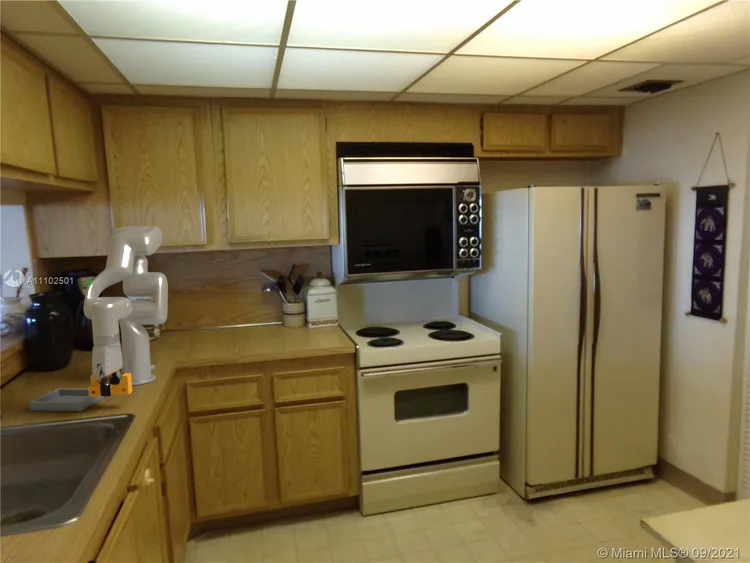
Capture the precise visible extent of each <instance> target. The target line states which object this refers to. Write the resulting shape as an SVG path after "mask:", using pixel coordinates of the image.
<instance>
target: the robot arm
mask: <svg viewBox="0 0 750 563" xmlns="http://www.w3.org/2000/svg"><path fill="white" fill-rule="evenodd" d="M112 234H113V235H112V237H111V238H110V242H109V247H108V252H107V259H106V266H105V269H103V270H102V271H101V272H100V273H99V274H98V275H96V277H94V278H93V280H92V281H91V282H90V283H89V284H88V287H87V289H86V292H85V296H84V303H83V313H84V316H85V318H87V319H89V320H91V326H92V338H93V339H92V342H93V347H92V356H91V357H92V359H91V369H92V375H93V376H95V377H94V380H95V381H97V382H98V383H99V385H100V392H101V396H109V397H111V396H112V395H111V386H110V384H111V385H117V384H119V383H120V381H121V376H122V375H121V372H122V369H123V374H125V373H131V380H132V386H137V385H138V386H139V385H145V384H148V383H151V382H153V381H155V380H156V378H157V377H156V375H155V374H153V373H152V371H153V370H154V369H155V367H156V366H155V365H154V364H151V352H150V351H151V350H150V336H149V333H148V330H147V329H146V328H145V327H144V326H147V325H150V326H151V325H162V324H164V323H165V322H166V321H167V320H168V309H169V308H168V306H169V305H168V301H169V293H168V292H169V287H168V279H167V276H166V275H165V274H164V273H163V272H158V271H155V272H153V271H152V272H149V271H148V269H149V268H148V265H149V264H148V263H149V262H148V258H147V257H146V256H152V255H153V254H154V253H156V251H158V249H159V248H160V247H161V246H162V243H163V241H164V240H163V239H164V238H163V232H162V230H161V228H160V227H158V226H155V225H154V226H153V225H152V226H151V225H149V226H148V225H146V226H144V225H143V226H142V225H141V226H140V225H139V226H138V225H136V226H135V225H131V226H130V225H129V226H128V225H127V226H120V227H117V228H115V229H114V230H113V232H112ZM120 282H122V290H123V294H124V295H125V296H127V297H130V298H145V297H146V298H147V297H149V298H150V297H151V298H153V299H133V300H132V299H131V300H130V299H129V298H127V297H125V296H101V297H99V296H100V294H101V293H102V292H103V291H104V290H105V289H106V288H109V287H110V286H112V285H115V284H117V283H120ZM119 327H120V328H119ZM120 332H121V336H120ZM120 338H121V340H120Z"/></svg>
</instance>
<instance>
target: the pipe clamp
mask: <svg viewBox="0 0 750 563" xmlns="http://www.w3.org/2000/svg"><path fill="white" fill-rule="evenodd" d="M94 377H95V376H93V374H91V375H90V386H87V389H88V390H89V397H105V398H106V397H110V396H101V392H100V385H99V383H98V382H97V381H95V380H94ZM120 379H121V381H120V383H119V384H117V385H111V384H110V383H109V384H110V386H111V396H112V395H114V396H115V395H117V396H118V395H121V396H122V395H124V396H126V395H128V396H129V395H130V394H131V393H132V392H133V385H132V380H131V373H125V374H124V373H123V374H122V375H121V377H120Z"/></svg>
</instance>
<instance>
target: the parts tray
mask: <svg viewBox="0 0 750 563" xmlns="http://www.w3.org/2000/svg"><path fill="white" fill-rule="evenodd" d="M105 398H106V397H89V390H88V388H71V387H70V388H68V387H67V388H66V387H65V388H61V387H58V388H56V389H54V390H52V391H50V392H47V393H46V394H43V395H41V396H39V397H36V398H35V399H33V400H31V401H28V405H29V407H28V408H29V412H50V411H81V410H83V409H84V408H86V407H88V406H90V405H91V406H93V405H95V404H96V403H95V402H97V401H98V402H100V401H101V399H102V400H104V399H105ZM99 400H100V401H99ZM98 402H97V403H98ZM94 403H95V404H94ZM92 404H93V405H92ZM91 406H90V407H91ZM88 408H89V407H88ZM86 409H87V408H86ZM84 410H85V409H84ZM84 410H83V411H84ZM81 412H82V411H81Z"/></svg>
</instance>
